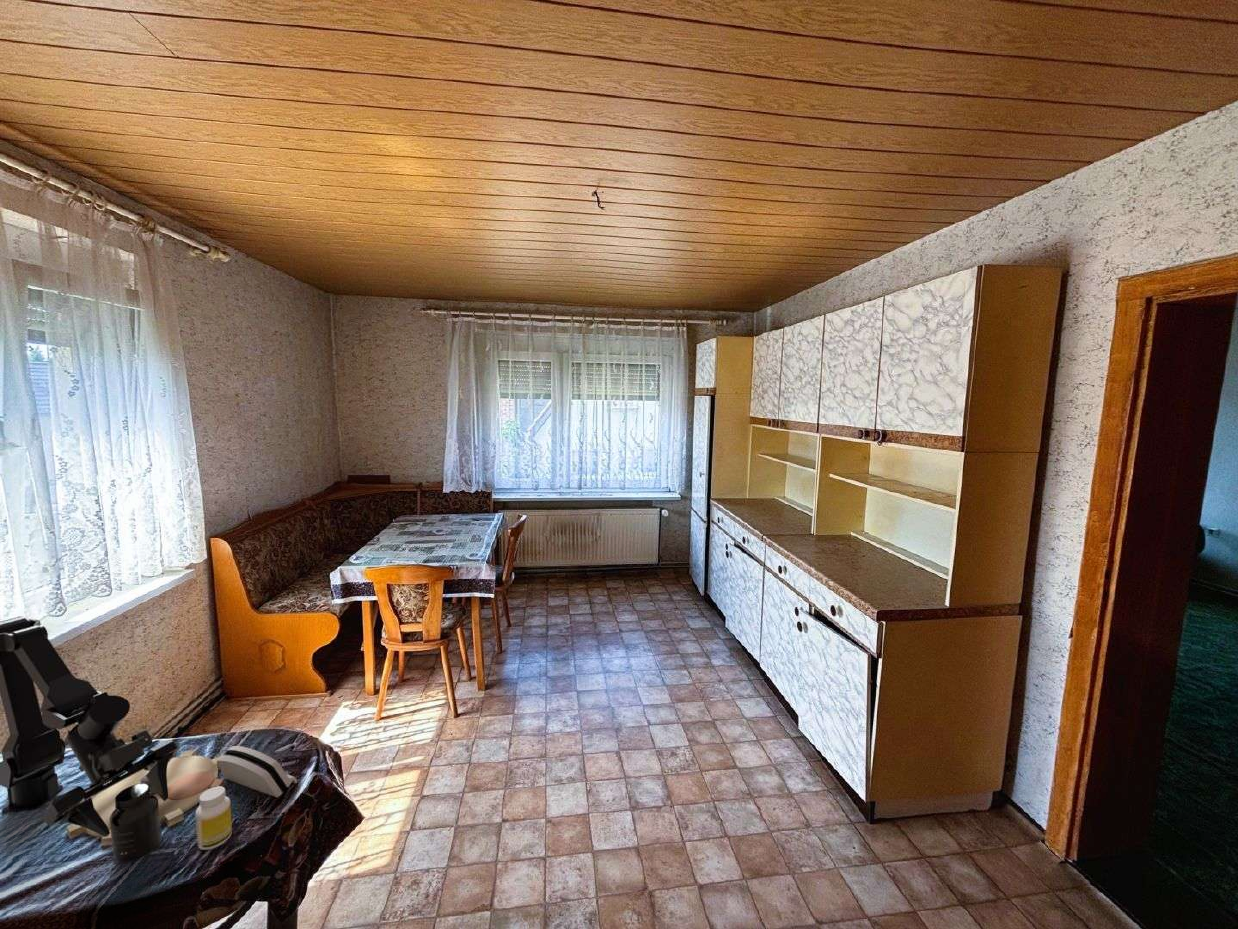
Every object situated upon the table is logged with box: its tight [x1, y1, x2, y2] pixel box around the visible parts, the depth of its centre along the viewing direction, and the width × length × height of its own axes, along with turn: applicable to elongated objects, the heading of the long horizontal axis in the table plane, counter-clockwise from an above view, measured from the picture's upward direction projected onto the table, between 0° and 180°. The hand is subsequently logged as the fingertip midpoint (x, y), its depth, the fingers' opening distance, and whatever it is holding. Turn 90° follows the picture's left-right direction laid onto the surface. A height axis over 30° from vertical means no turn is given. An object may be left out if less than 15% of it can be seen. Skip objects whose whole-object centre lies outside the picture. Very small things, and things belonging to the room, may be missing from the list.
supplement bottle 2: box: [195, 786, 233, 851], centre depth 101 cm, size 5×5×10 cm
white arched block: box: [217, 745, 298, 798], centre depth 116 cm, size 17×5×10 cm, turn 71°
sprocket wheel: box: [66, 749, 226, 847], centre depth 113 cm, size 26×26×4 cm
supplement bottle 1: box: [110, 783, 162, 864], centre depth 99 cm, size 7×7×12 cm
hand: (138, 816), depth 98 cm, fingers open, 9 cm apart
